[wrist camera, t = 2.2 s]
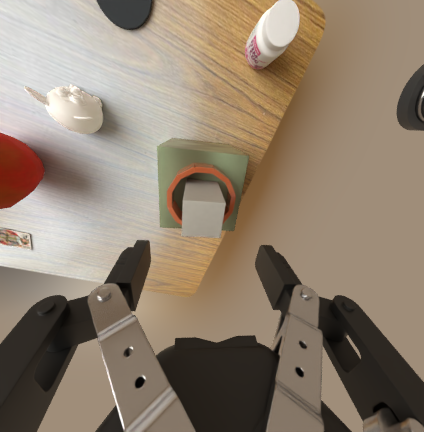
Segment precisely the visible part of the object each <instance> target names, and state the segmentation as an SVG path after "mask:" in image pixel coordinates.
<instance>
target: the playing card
mask: <svg viewBox="0 0 424 432" xmlns="http://www.w3.org/2000/svg"><path fill="white" fill-rule="evenodd" d="M0 244H2V245H7V246H12V247H17V248H23V249H28V250H31V241H30V235H29V234H27V233H22V232H18V231H13V230H8V229H4V228H0Z"/></svg>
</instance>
